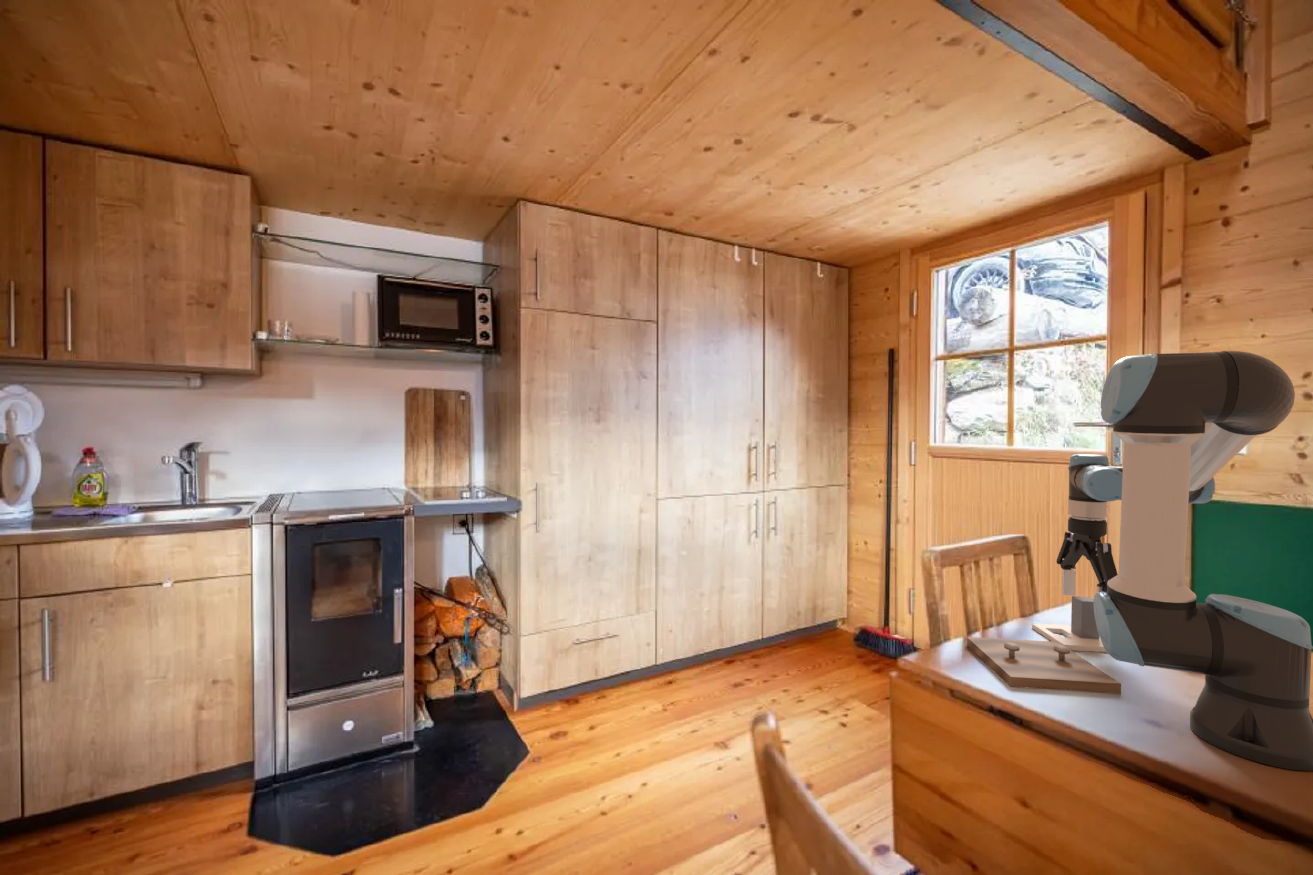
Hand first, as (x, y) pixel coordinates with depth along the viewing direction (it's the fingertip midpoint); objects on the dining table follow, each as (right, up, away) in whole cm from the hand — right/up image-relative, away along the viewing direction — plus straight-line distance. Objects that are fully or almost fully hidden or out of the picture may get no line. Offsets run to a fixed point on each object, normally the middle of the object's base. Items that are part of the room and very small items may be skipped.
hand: (1085, 603), depth 135 cm
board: (-23, -9, -15) cm, 29 cm away
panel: (0, -9, 0) cm, 9 cm away
